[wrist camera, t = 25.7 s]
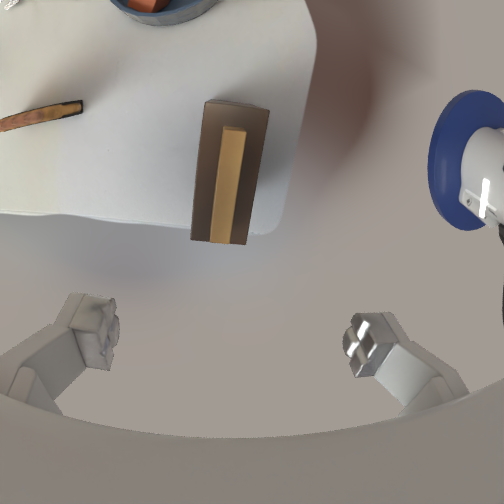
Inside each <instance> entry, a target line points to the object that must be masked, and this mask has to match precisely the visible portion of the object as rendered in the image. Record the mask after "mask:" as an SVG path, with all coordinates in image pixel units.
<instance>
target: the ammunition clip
mask: <svg viewBox="0 0 504 504" xmlns="http://www.w3.org/2000/svg"><path fill="white" fill-rule="evenodd" d="M82 113H83V101H82V100H78V101H71V102H64V103H59V104H54V105H50V106H45V107H41V108H37V109H33V110H29V111H25V112H22V113H18V114H15V115H11V116H8V117H5V118H3V119H1V120H0V132H5V131H8V130H12V129H16V128H20V127H24V126H28V125H32V124H37V123H41V122H46V121H51V120H56V119H61V118H66V117H70V116H74V115H78V114H82Z"/></svg>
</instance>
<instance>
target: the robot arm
mask: <svg viewBox="0 0 504 504" xmlns="http://www.w3.org/2000/svg"><path fill="white" fill-rule="evenodd" d="M459 202H460V203H461V204H462V205H464V206H465V207H466V208H467V209H468V210H470V211H471V212H472V213H473V214H474V215H476V216H477V217H478V218H479V219H480V220H481V221H482V222H484V223H485V224H486V225H487V226H488V227H490V228H494V227H495V226H497V225H498V224H499V223H500V224H499V225H498V226H499V236H500V239H501V240H502V243H503V244H504V128H498V129H492V128H490V127H482V128H480V129H478V130H477V131H475V132H474V133H473V135H472V136H471V137H470V139H469V140H468V142H467V144H466V147H465V150H464V153H463V157H462V162H461V189H460V194H459ZM116 308H117V307H116V302H115V299H114V298H110V297H103V296H97V295H91V294H83V293H78V292H72V293H71V294H70V295H69V297H68V298H67V300H66V302H65V304H64V306H63V308H62V309H61V311H60V313H59V315H58V317H57V319H56V321H55V323H54V325H52V324H49V325H48V326H46V327H44V328H43V329H42V330H40V331H38V332H37V333H35V334H33V335H32V336H30V337H29V338H27V339H26V340H24V341H23V342H21V343H20V344H18V345H17V346H15V347H13V348H12V349H10V350H9V351H7V352H6V353H4V354H3V355H1V356H0V504H504V378H503V379H501V380H499V381H497V382H495V383H493V384H491V385H488V386H486V387H484V388H482V389H480V390H477V391H475V392H472V393H469V391H468V389H467V387H466V386H465V384H464V382H463V381H462V379H461V377H460V376H459V374H458V372H457V371H456V370H455V369H453V368H452V367H451V366H449V365H448V364H446V363H445V362H443V361H442V360H440V359H439V358H438V357H436V356H435V355H433V354H432V353H430V352H429V351H427V350H426V349H424V348H423V347H421V346H420V345H419V344H417V343H416V342H414V341H410V340H409V338H408V336H407V335H406V333H405V332H404V330H403V329H402V327H401V325H400V324H399V322H398V321H397V319H396V317H395V316H394V314H392V313H391V312H379V313H356V314H355V315H354V316H353V317H352V319H351V324H352V326H351V327H349V328H348V329H347V330H346V332H345V334H344V336H343V349H344V352H345V354H346V355H347V356H348V357H349V358H351V360H350V363H349V364H350V367H351V369H352V372H353V374H354V376H355V377H367V376H374V377H375V378H376V379H377V380H378V381H379V382H380V383H381V384H382V385H383V386H384V387H385V388H386V389H387V390H388V391H389V392H390V393H391V394H392V395H393V396H394V397H395V398H396V399H397V400H398V401H399V402H400V403H401V404H403V405H404V406H405V408H404V409H403V410H402V411H401V413H400V414H399V415H398V417H397V418H394V419H390V420H386V421H381V422H377V423H373V424H368V425H363V426H357V427H352V428H347V429H341V430H334V431H328V432H320V433H312V434H304V435H293V436H281V437H264V438H201V437H185V436H184V437H183V436H173V435H161V434H153V433H146V432H139V431H132V430H126V429H120V428H115V427H110V426H104V425H100V424H95V423H91V422H86V421H82V420H78V419H74V418H70V417H67V416H63V414H62V412H61V410H60V409H59V408H58V406H57V405H56V403H55V402H54V400H55V399H56V398H57V397H58V396H59V395H60V394H61V393H62V392H63V391H64V390H65V389H66V388H67V387H68V386H69V385H70V384H71V383H72V382H73V381H74V380H75V379H76V378H77V377H78V376H79V375H80V374H81V373H82V372H83V371H84V370H85V369H86V367H89V368H95V369H101V370H107V371H110V367H111V364H112V360H113V357H114V354H113V350H112V348H113V347H115V346H116V345H117V342H118V339H119V330H120V328H119V318H118V317H117V316H116V315H115V311H116ZM502 309H503V310H502V311H503V324H504V287H503V307H502Z"/></svg>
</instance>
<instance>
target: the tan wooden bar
mask: <svg viewBox="0 0 504 504" xmlns="http://www.w3.org/2000/svg"><path fill="white" fill-rule="evenodd" d="M246 134H247V133H246V131H245V129H244V128H239V127H231V126H224V127H223V134H222V141H221V148H220V155H219V162H218V170H217V177H216V185H215V193H214V201H213V210H212V219H211V228H210V242H212V243H222V244H229V243H230V237H231V230H232V223H233V216H234V210H235V203H236V196H237V190H238V183H239V177H240V171H241V164H242V158H243V152H244V146H245V140H246Z"/></svg>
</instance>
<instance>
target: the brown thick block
mask: <svg viewBox="0 0 504 504" xmlns="http://www.w3.org/2000/svg"><path fill="white" fill-rule="evenodd" d="M269 112H270V111H269V110H267V109H264V108H261V107H258V106H255V105H251V104H244V103H237V102H229V101H220V100H209V101H207V102H205V106H204V113H203V120H202V127H201V135H200V143H199V152H198V160H197V170H196V179H195V189H194V200H193V212H192V224H191V238H190V239H191V240H196V241H206V242H210V228H211V219H212V210H213V201H214V193H215V185H216V177H217V170H218V162H219V155H220V148H221V141H222V134H223V127H224V126H231V127H239V128H244V129H245V131H246V133H247V134H246V140H245V146H244V152H243V158H242V164H241V171H240V177H239V183H238V190H237V196H236V203H235V210H234V216H233V223H232V230H231V237H230V243H229V244H241V245H246V241H247V235H248V230H249V224H250V218H251V213H252V207H253V201H254V196H255V190H256V184H257V179H258V173H259V168H260V162H261V156H262V151H263V145H264V140H265V134H266V129H267V123H268V118H269Z"/></svg>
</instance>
